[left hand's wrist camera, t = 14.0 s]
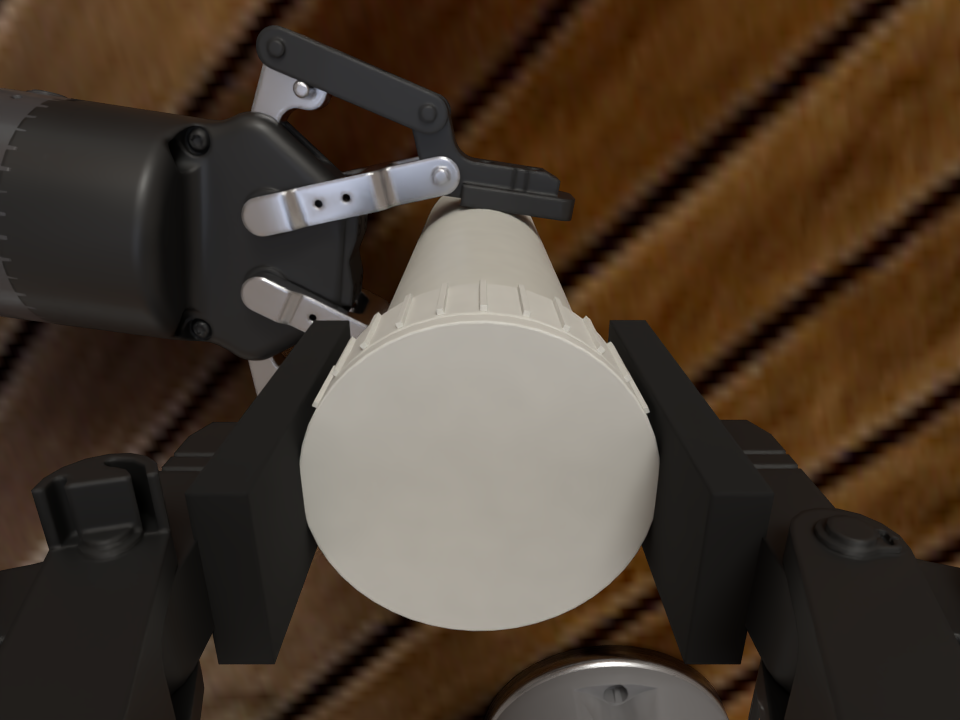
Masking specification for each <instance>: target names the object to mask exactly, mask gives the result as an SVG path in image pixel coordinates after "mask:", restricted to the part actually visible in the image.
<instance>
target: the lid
mask: <svg viewBox="0 0 960 720" xmlns="http://www.w3.org/2000/svg"><path fill="white" fill-rule="evenodd" d="M312 406H313V407H315V408H316V410H315V412H314V414H313V416H312V418H311V420H310V422H309V424H308V427H307V430H306V433H305V437H304V440H303V443H302V448H301V454H300V473H301V482H302V491H303V499H304V507H305V514H306V520H307V523H308V526H309V528H310V530H311V533H312V535H313V537H314V539H315V541H316V543H317V545H318V546H319V548H320V549H321V551H322V552H323V554H324V555H325V557H326V558H327V560H328V561H329V562H330V564H331V565H332V566H333V567H334V568H335V569H336V570H337V572H338V573H339V574H340V575H341V576H342V577H343V578H344V579H345V580H346V581H347V582H349V583H350V584H351V585H352V586H353V587H354V588H355V589H356V590H358V591H359V592H361V593H362V594H363V595H365V596H366V597H368V598H369V599H370V600H372V601H373V602H375V603H377V604H379V605H381V606H382V607H384V608H386V609H388V610H390V611H392V612H394V613H396V614H399V615H401V616H404V617H406V618H409V619H411V620H414V621H418V622H421V623H425V624H428V625H432V626H437V627H442V628H448V629H455V630H467V631H495V630H503V629H511V628H518V627H522V626H527V625H531V624H535V623H539V622H542V621H545V620H547V619H550V618H553V617H556V616H558V615H561V614H563V613H565V612H567V611H569V610H571V609H573V608H576V607H577V606H579V605H581V604H582V603H584V602H585V601H587V600H589V599H590V598H592V597H594V596H595V595H596V594H597V593H599V592H600V591H601V590H603V589H604V588H605V587H606V586H608V585H609V584H610V583H611V582H612V581H613V580H614V579H615V578H616V577H617V576H618V575H619V574H620V573H621V572H622V571H623V570H624V569H625V568H626V566H627V565H628V564H629V562H630V561H631V560H632V559H633V557H634V556H635V555H636V553H637V552H638V550H639V548H640V546H641V545H642V543H643V541H644V540H645V538H646V536H647V534H648V531H649V529H650V526H651V524H652V521H653V517H654V509H655V501H656V493H657V484H658V476H659V466H660V456H659V452H658V447H657V443H656V438H655V435H654V432H653V430H652V427H651V424H650V422H649V419H648V417H647V415H646V414H647V413H649V412H650V411H649V408H648V406H647V404H646V403H645V401H644V399H643V397H642V395H641V393H640V392H639V390H638V388H637V386H636V384H635V383H634V381H633V379H632V377H631V375H630V373H629V372H628V370H627V369H626V367H625V365H624V363H623V361H622V359H621V358H620V356H619V354H618V352H617V350H616V348H615V347H614V345H613V344H612V342H609V343H608V344H606V342H605V341H604V340H603V339H602V337H601V336H600V335H599V334H598V333H597V332H596V330H595V328H594V326H593V324H592V322H591V320H590V319H589V318H588V317H587V316H585V317H584V319H582V318H580V317H579V316H578V315H576V314H575V313H574V312H572V311H571V310H569V309H568V308H566V307H564V306H562V303H561V301H560V299H559V298H557V297H554V298H553V300H551V299H549V298H547V297H544V296H541V295H539V294H536V293H533V292H531V291H527V290H525V286H524V285H521V284H518V287H517V288H514V287H510V286H503V285H493V284H486V280H480V284H463V285H457V286H450V287H448V283H443V284H441V288H440V289H436V290H433V291H429V292H426V293H423V294H420V295H418V296H415V297H412V295H411V294H409V295H407V296H405V299H404V301H403V302H402V303H400V304H399V305H397V306H395V307H394V308H392V309H390V310H389V311H387V312H385V313H384V314H383V315H381V314H380V313H379V312H378V313H377V314H375V315H374V317H373V319H372V321H371V323H370V325H369V326H368V327H367V328H366V329H365V330H364V331H363V332H362V333H361V334H360V336H359V337H358V338H357V339H355V338H354V337H351V339H350V340H349V342H348V343H347V345H346V347H345V349H344V351H343V353H342V354H341V356H340V358H339V360H338V362H337V364H336V365H334V366H333V368H332V369H331V371H330V373H329V375H328V377H327V378H326V380H325V382H324V384H323V386H322V388H321V389H320V391H319V393H318V395H317V397H316V398H315V400H314V402H313V404H312Z"/></svg>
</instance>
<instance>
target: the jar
mask: <svg viewBox="0 0 960 720" xmlns="http://www.w3.org/2000/svg"><path fill="white" fill-rule="evenodd" d="M460 203H461V198H456V197H449V196H442V197H441V198H440V199H439V200H438V202H437V203H436V204H435V205H434V207H433V209H432V210H431V213H430V215H429V217H428V219H427V222H426V224H425V226H424V228H423V231H422V233H421V235H420V238H419V240H418V242H417V244H416V247H415V249H414V251H413V254H412V256H411V258H410V260H409V263H408V265H407V267H406V270H405V272H404V274H403V276H402V279H401V281H400V283H399V286H398V288H397V290H396V292H395V295H394V297H393V299H392V302H391V304H390V306H389V308H388V311H389V310H390V309H392V308H394V307H395V306H397V305H399V304H400V303H402V302H403V301H404V299H405V296H407V295H409V294H411V295H412V297H415V296H418V295H420V294H423V293H426V292H429V291H433V290H436V289H440V288H441V284H443V283H448V287H450V286H457V285H463V284H480V280H486V284H493V285H503V286H510V287H514V288H517V287H518V284H521V285H524V286H525V290H527V291H531V292H533V293H536V294H539V295H541V296H544V297H547V298H549V299H551V300H553V298H554V297H557V298H559V299H560V301H561V303H562V306H564V307H566V308H568V309H569V310H571V307H570V305H569V303H568V301H567V298H566V296H565V294H564V292H563V289H562V287H561V285H560V282H559V280H558V278H557V276H556V273H555V271H554V269H553V266H552V264H551V262H550V260H549V257H548V255H547V253H546V250H545V248H544V246H543V244H542V241H541V239H540V237H539V235H538V232H537V230H536V228H535V225H534V223H533V221H532V219H531V216H527V215H520V214H513V213H506V212H499V211H494V210H489V209H479V208H472V207H465V206H460ZM571 311H572V310H571Z"/></svg>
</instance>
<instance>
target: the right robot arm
mask: <svg viewBox="0 0 960 720" xmlns="http://www.w3.org/2000/svg"><path fill="white" fill-rule="evenodd" d="M256 50H257V54H258V56H259V58H260V60H261V61H262V63H263V67H262V71H261V75H260V78H259V82H258V86H257V90H256V94H255V98H254V102H253V106H252V110H251V112H243V113H240V114H238V115H235V116H233V117H231V118H228V119H225V120H221V121H220V120H209V119H203V118H196V117H189V116H183V115H176V114H170V113H163V112H157V111H150V110H143V109H137V108H130V107H124V106H117V105H110V104H104V103H98V102H91V101H84V100H78V99H69V98H67V97H65V96H62V95H59V94H56V93H52V92H47V91H42V90H32V91H26V92H25V91H18V90H12V89H5V88H0V316H2V317H10V318H17V319H25V320H32V321H40V322H47V323H54V324H61V325H68V326H76V327H83V328H92V329H99V330H106V331H114V332H121V333H129V334H136V335H143V336H151V337H158V338H165V339H173V340H187V341H206V342H211V343H214V344H217V345H219V346H221V347H224V348H225V349H227V350H229V351H230V352H232V353H233V354H235V355H236V356H238V357H240V358H243V359H246V360H248V361H249V365H250V369H251V373H252V377H253V381H254V385H255V389H256V393H257V396H258V395H259V393H260V392H261V391H262V389H263V388H264V387H265V385H266V384H267V383H268V381H269V380H270V379H271V377H272V376H273V375H274V373H275V372H276V371H277V369H278V368H279V367H280V365H281V364H282V363H283V361H284V360H285V359H286V358H285V357H284V356H283V354H282V353H281V352H282V351H284V350H286V349H288V348H290V347H292V346H294V345H296V344H297V342H298V341H299V340H300V338H301V337H302V336H303V334H304V333H305V332H306V330H307V329H308V328H309V326H310V325H311V324H312V322H313V321H314V320H349V321H350V334H351V337H354V338H355V339H357V338H358V337H359V336H360V334H361V333H362V332H363V331H364V330H365V329H366V328H367V327H368V326H369V325H370V323H371V321H372V319H373V317H374V315H375V314H377V313H378V312H379V313H380V314H381V315H383V314H384V313H385V312H387V311H388V308H389V306H390V304H389V303H388V302H387V301H386V300H385V299H383V298H382V297H380V296H378V295H376V294H374V293H372V292H370V291H368V290H366V289H364V288H362V279H363V268H362V262H361V257H360V252H359V248H360V245H361V242H362V240H363V237H364V234H365V231H366V229H367V217H368V213H373V212H378V211H382V210H385V209H388V208H391V207H394V206H397V205H401V204H406V203H411V202H416V201H420V200H425V199H430V198H435V197H439V196H449V197H456V198H461V203H460V206H465V207H472V208H479V209H489V210H494V211H499V212H506V213H513V214H520V215H527V216H533V217H540V218H547V219H554V220H561V221H571V218H572V213H573V208H574V202H575V199H574V198H573V196H572V195H571V194H569V193H566V192H562V191H559V185H560V180H559V179H558V178H557V177H556V176H554V175H552V174H551V173H549V172H548V171H546V170H544V169H543V168H537V167H530V166H524V165H517V164H511V163H504V162H497V161H491V160H484V159H478V158H472V157H470V156H468V155H466V154H465V153H463V152H462V151H461V150H460V148H459V147H458V145H457V143H456V139H455V135H454V130H453V125H452V121H451V108H450V105H449V103H448V101H447V100H446V99H445V98H444V97H443V96H441V95H440V94H437V93H435V92H433V91H431V90H428V89H426V88H424V87H421V86H419V85H417V84H414V83H412V82H410V81H408V80H405V79H403V78H401V77H398V76H396V75H394V74H392V73H389V72H387V71H385V70H382V69H380V68H378V67H375V66H373V65H371V64H369V63H366V62H364V61H362V60H359V59H357V58H355V57H353V56H350V55H348V54H346V53H343V52H341V51H339V50H336V49H334V48H332V47H330V46H327V45H325V44H323V43H320V42H318V41H316V40H314V39H311V38H309V37H307V36H304V35H302V34H299V33H297V32H294V31H291V30H289V29H286V28H283V27H280V26H269V27H266V28H265V29H263V30H262V31H261V32H260V34H259V35H258V38H257V41H256ZM332 95H333V96H336V97H338V98H341V99H343V100H345V101H348V102H350V103H352V104H355V105H357V106H359V107H362V108H364V109H366V110H369V111H371V112H373V113H376V114H378V115H381V116H383V117H385V118H388V119H390V120H392V121H395V122H397V123H399V124H402V125H404V126H406V127H409V128H411V129H412V130H413V134H414V139H415V143H416V147H417V152H418V156H416V157H412V158H407V159H402V160H398V161H391V162H385V163H380V164H375V165H371V166H366V167H362V168H357V169H352V170H348V171H343V172H341V171H340V170H339V169H338V168H337V167H336V166H334V165H333V164H332V163H331V162H330V161H329V160H328V159H327V158H326V157H325V156H324V155H323V154H322V153H321V152H320V151H318V150H317V149H316V148H315V147H314V146H313V145H312V144H311V143H310V142H309V141H308V140H307V139H306V138H305V137H304V136H302V135H301V134H300V133H299V132H298V131H297V130H296V129H295V128H294V127H293V126H292V125H291V124H290V123H289V122H287V119H288V117H289V115H290V114H291V113H292V112H293V111H294V110H296V109H299V108H300V109H304V110H318V109H322V108H324V107H325V106H327V104H328V103H329V102H330V100H331V98H332ZM354 303H356V304H354Z"/></svg>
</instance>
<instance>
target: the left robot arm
mask: <svg viewBox="0 0 960 720" xmlns="http://www.w3.org/2000/svg"><path fill="white" fill-rule="evenodd" d="M350 339H351V334H350V321H349V320H314V321H313V322H312V324H311V325H310V326H309V328H308V329H307V330H306V332H305V333H304V334H303V336H302V337H301V338H300V340H299V341H298V342H297V344H296V345H295V346H294V348H293V349H292V351H291V352H290V353H289V355H288V356H287V357H286V359H285V360H284V361H283V363H282V364H281V365H280V367H279V368H278V369H277V371H276V372H275V373H274V375H273V376H272V377H271V379H270V380H269V381H268V383H267V384H266V385H265V387H264V388H263V389H262V391H261V392H260V393H259V395H258V396H257V397H256V399H255V400H254V401H253V403H252V404H251V405H250V407H249V408H248V409H247V411H246V412H245V413H244V415H243V416H242V417H241V419H240V420H239V421H238V422H212V423H211V424H209V425H207V426H206V427H204V428H202V429H201V430H199V431H197V432H196V433H194V434H192V435H190V436H189V437H188V438H187V439H186V440H185V441H184V443H183V444H182V445H181V446H180V447H179V448H178V450H177V451H176V452H175V453H174V457H171V458H170V459H169V460H168V461H167V462H166V463H165V465H164V466H163V467H162V471H158V467H157V463H156V462H154V461H153V460H152V459H150V458H149V457H147V456H143V455H138V454H133V453H121V454H107V455H102V456H97V457H92V458H87V459H84V460H81V461H78V462H76V463H73V464H70V465H68V466H65V467H62V468H61V469H59V470H57V471H55V472H54V473H52V474H50V475H48V476H47V477H45V478H43V479H42V480H41V481H40V482H39V483H38V484H37V485H36V486H35V487H34V488H33V489H32V490H31V491H32V495H33V498H34V501H35V504H36V508H37V511H38V514H39V518H40V521H41V524H42V527H43V531H44V534H45V537H46V541H47V544H48V547H49V552H48V554H47V556H46V558H45V560H44V561H43V562H40V563H36V564H32V565H27V566H22V567H17V568H12V569H7V570H2V571H0V720H200V718H201V710H202V702H203V694H204V683H203V676H202V671H201V666H200V662H199V659H200V657H201V655H202V653H203V651H204V649H205V647H206V645H207V643H208V641H209V639H210V637H211V635H212V633H213V638H214V643H215V648H216V653H217V658H218V663H219V664H275V662H276V659H277V656H278V653H279V651H280V648H281V645H282V642H283V639H284V637H285V634H286V631H287V628H288V626H289V623H290V620H291V617H292V615H293V612H294V609H295V606H296V604H297V601H298V598H299V595H300V593H301V590H302V587H303V584H304V582H305V579H306V576H307V573H308V571H309V568H310V565H311V562H312V560H313V557H314V554H315V551H316V548H317V546H318V545H317V543H316V541H315V539H314V537H313V535H312V533H311V530H310V528H309V526H308V523H307V520H306V514H305V507H304V499H303V491H302V482H301V473H300V454H301V448H302V443H303V440H304V437H305V433H306V430H307V427H308V424H309V422H310V420H311V418H312V416H313V414H314V412H315V410H316V408H315V407H313V406H312V404H313V402H314V400H315V398H316V397H317V395H318V393H319V391H320V389H321V388H322V386H323V384H324V382H325V380H326V378H327V377H328V375H329V373H330V371H331V369H332V368H333V366H334V365H336V364H337V362H338V360H339V358H340V356H341V354H342V353H343V351H344V349H345V347H346V345H347V343H348V342H349V340H350ZM609 342H612V344H613V345H614V347H615V348H616V350H617V352H618V354H619V356H620V358H621V359H622V361H623V363H624V365H625V367H626V369H627V370H628V372H629V373H630V375H631V377H632V379H633V381H634V383H635V384H636V386H637V388H638V390H639V392H640V393H641V395H642V397H643V399H644V401H645V403H646V404H647V406H648V408H649V411H650V412H649V413H647V414H646V415H647V417H648V419H649V422H650V424H651V427H652V430H653V432H654V435H655V438H656V443H657V447H658V452H659V456H660V466H659V476H658V484H657V493H656V501H655V509H654V517H653V521H652V524H651V526H650V529H649V531H648V534H647V536H646V538H645V540H644V541H643V543H642V548H643V550H644V553H645V556H646V559H647V561H648V564H649V567H650V570H651V572H652V575H653V578H654V581H655V583H656V586H657V589H658V592H659V594H660V597H661V600H662V603H663V605H664V608H665V611H666V614H667V617H668V619H669V622H670V625H671V628H672V630H673V633H674V636H675V639H676V641H677V644H678V647H679V650H680V652H681V655H682V658H683V661H684V662H682V661H680V660H678V659H676V658H674V657H672V656H669V655H666V654H664V653H661V652H658V651H654V650H650V649H646V648H640V647H633V646H622V645H605V646H592V647H585V648H580V649H575V650H570V651H567V652H563V653H560V654H557V655H554V656H552V657H549V658H546V659H544V660H542V661H540V662H538V663H536V664H534V665H532V666H531V667H529V668H527V669H525V670H524V671H523V672H521V673H520V674H518V675H517V676H516V677H514V678H513V679H512V680H511V681H510V682H509V683H508V684H507V685H506V686H505V687H504V688H503V689H502V690H501V691H500V692H499V693H498V695H497V696H496V697H495V699H494V700H493V702H492V704H491V705H490V707H489V709H488V711H487V713H486V716H485V719H484V720H729V719H728V717H727V714H726V712H725V709H724V707H723V704H722V702H721V700H720V698H719V696H718V694H717V692H716V691H715V689H714V688H713V686H712V685H711V684H710V683H709V682H708V681H707V680H706V678H704V677H703V676H702V675H701V674H700V673H699V672H698V671H696V670H695V669H693V668H692V667H691V666H689V665H687V664H741V660H742V655H743V650H744V645H745V640H746V635H747V631H748V633H749V635H750V637H751V639H752V641H753V643H754V645H755V647H756V649H757V651H758V652H759V654H760V656H761V662H760V666H759V671H758V676H757V680H756V685H755V690H754V694H753V699H752V704H751V708H750V713H749V718H748V720H759V718H760V720H960V568H958V567H953V566H948V565H943V564H938V563H933V562H928V561H923V560H919V559H916V558H915V556H914V554H913V552H912V550H911V549H910V548H909V546H908V545H907V544H906V543H905V541H904V540H903V539H902V538H901V537H900V535H898V534H897V533H895V532H894V531H892V530H891V529H889V528H888V527H886V526H885V525H883V524H882V523H880V522H877V521H875V520H873V519H870V518H868V517H866V516H863V515H861V514H858V513H853V512H849V511H845V510H841V509H835V507H834V506H833V505H832V504H831V503H830V502H829V500H828V499H827V498H826V497H825V496H824V495H823V494H822V492H821V491H820V490H819V489H818V488H817V487H816V486H815V484H814V483H813V482H812V481H811V480H810V479H809V477H808V476H807V475H806V474H805V473H804V472H803V471H802V469H798V465H797V464H796V462H795V461H794V460H793V459H792V458H791V457H790V456H789V454H786V453H785V452H786V451H785V450H784V449H783V448H782V446H781V445H780V444H779V443H778V442H777V441H776V439H775V438H774V437H773V436H772V435H771V434H770V433H768V432H766V431H765V430H763V429H761V428H759V427H758V426H756V425H754V424H753V423H751V422H749V421H748V420H719V418H718V417H717V416H716V414H715V413H714V412H713V410H712V409H711V408H710V406H709V405H708V404H707V402H706V401H705V400H704V398H703V397H702V396H701V394H700V393H699V392H698V390H697V389H696V388H695V386H694V385H693V384H692V382H691V381H690V379H689V378H688V377H687V375H686V374H685V373H684V371H683V370H682V369H681V367H680V366H679V365H678V363H677V362H676V361H675V359H674V358H673V357H672V355H671V354H670V353H669V351H668V350H667V349H666V347H665V346H664V345H663V343H662V342H661V341H660V339H659V338H658V337H657V335H656V334H655V333H654V331H653V330H652V329H651V327H650V326H649V325H648V323H647V322H646V321H645V320H610V325H609V338H608V343H609Z"/></svg>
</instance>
